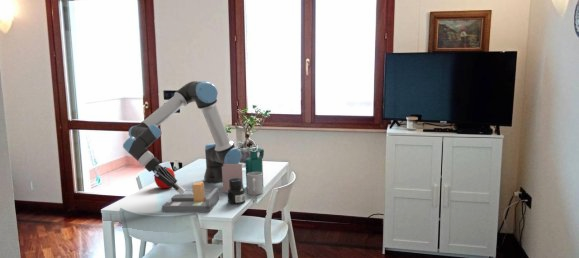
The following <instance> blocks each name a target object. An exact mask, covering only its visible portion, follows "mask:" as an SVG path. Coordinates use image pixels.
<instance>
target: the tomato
mask: <svg viewBox="0 0 579 258" xmlns="http://www.w3.org/2000/svg"><path fill="white" fill-rule="evenodd" d="M162 167H163V168H164V167H165V166H162ZM166 168H167V169H168V171H169V172H170V173H171V174H172V175H173V176H174V177H175V178H176V175H175V172H174V170H173V169H172V168H170V167H166ZM153 177H154V176H153ZM154 183H155V184H156V186H157V187H158V188H159V189H168V188H169V189H170V187H169V186H167V185H166V184H165V183H163V182H162V181H161V180H159V179H158V178H156V177H154Z"/></svg>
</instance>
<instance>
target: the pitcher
mask: <svg viewBox="0 0 579 258" xmlns="http://www.w3.org/2000/svg"><path fill="white" fill-rule="evenodd" d="M248 152H249V153H250V157H247V158H245V161H244V162H245V182H246V183H245V184H246V186H247V173H250V172H261V173H262V183H263V184H264V168H263V167H264V166H263V165H264V164H263V163H264V162H263V159H264V154H265V150H264V148H258V149H250V150H248ZM257 153H259V155H258V154H257ZM257 155H258V156H257Z"/></svg>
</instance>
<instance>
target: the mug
mask: <svg viewBox="0 0 579 258" xmlns="http://www.w3.org/2000/svg"><path fill="white" fill-rule="evenodd" d="M263 187H264V182H263V183H262V173H261V172H250V173H247V185H246V189H247V195H250V196H251V195H252V196H258V195H262V194H263V193H264V188H263Z"/></svg>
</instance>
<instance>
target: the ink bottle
mask: <svg viewBox="0 0 579 258" xmlns="http://www.w3.org/2000/svg"><path fill="white" fill-rule="evenodd" d="M229 187H230V188H229V189H228V192H227V203H228V205H229V204H230V205H242V204H244V203H245V202H246V190H245V188H244V187H243V188H242V179H240V178H234V179H230V180H229Z"/></svg>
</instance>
